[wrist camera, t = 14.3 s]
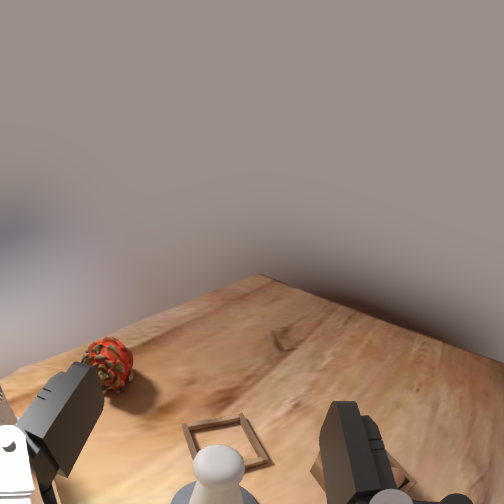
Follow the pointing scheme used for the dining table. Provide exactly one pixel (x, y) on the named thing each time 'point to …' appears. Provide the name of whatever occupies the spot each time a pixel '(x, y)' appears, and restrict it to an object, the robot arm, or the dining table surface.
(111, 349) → the dragon fruit
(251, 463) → the holder
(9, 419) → the french press
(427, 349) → the dining table surface
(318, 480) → the caddy
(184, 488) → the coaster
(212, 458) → the salt shaker
